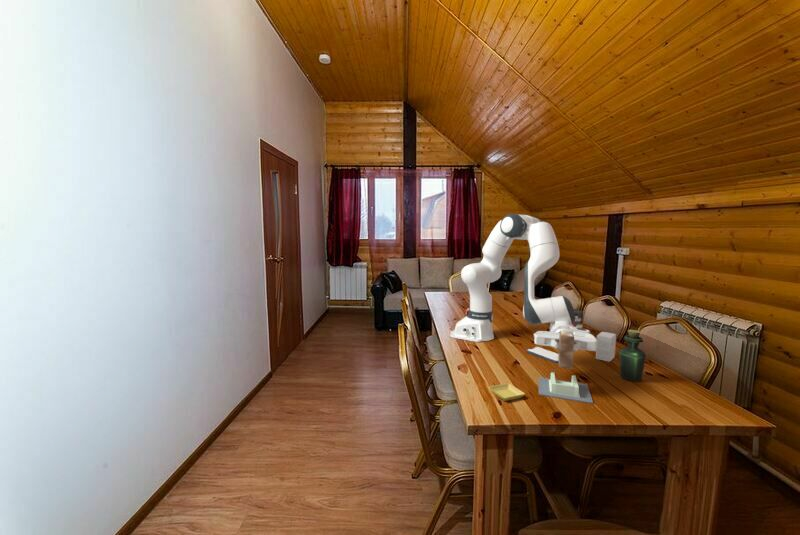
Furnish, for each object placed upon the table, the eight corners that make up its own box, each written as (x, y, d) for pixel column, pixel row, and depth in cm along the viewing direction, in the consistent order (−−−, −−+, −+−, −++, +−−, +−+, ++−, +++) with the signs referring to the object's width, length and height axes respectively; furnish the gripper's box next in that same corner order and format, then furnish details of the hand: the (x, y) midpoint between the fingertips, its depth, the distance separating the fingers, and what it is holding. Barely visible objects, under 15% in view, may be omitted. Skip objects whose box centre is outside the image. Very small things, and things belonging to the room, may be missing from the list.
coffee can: (585, 340, 170) (586, 313, 168) (563, 339, 171) (564, 312, 170) (577, 334, 180) (579, 308, 178) (557, 333, 182) (558, 307, 180)
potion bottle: (638, 384, 120) (641, 335, 118) (613, 376, 127) (616, 330, 125) (648, 379, 124) (651, 332, 122) (623, 371, 131) (627, 326, 129)
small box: (600, 354, 151) (601, 331, 150) (615, 357, 147) (616, 333, 146) (595, 358, 145) (596, 335, 144) (609, 362, 141) (611, 337, 140)
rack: (549, 392, 113) (550, 383, 113) (548, 380, 122) (549, 372, 122) (579, 397, 110) (580, 388, 109) (576, 384, 119) (577, 376, 119)
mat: (538, 394, 112) (538, 393, 112) (538, 378, 125) (538, 377, 125) (593, 403, 107) (593, 402, 106) (586, 385, 119) (587, 384, 119)
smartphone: (569, 361, 144) (537, 349, 158) (569, 357, 144) (537, 346, 157) (557, 365, 139) (524, 353, 153) (557, 361, 139) (524, 349, 153)
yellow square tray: (508, 388, 118) (508, 382, 118) (525, 399, 110) (525, 393, 110) (487, 392, 115) (487, 386, 115) (503, 404, 107) (504, 398, 107)
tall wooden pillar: (559, 367, 113) (560, 334, 112) (558, 361, 119) (559, 330, 117) (572, 369, 111) (574, 336, 110) (570, 362, 117) (572, 331, 116)
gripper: (533, 325, 130) (533, 335, 117) (594, 330, 122) (601, 341, 109) (533, 341, 130) (532, 352, 118) (593, 347, 123) (599, 360, 110)
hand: (566, 347), depth 114 cm, fingers closed on tall wooden pillar, 4 cm apart
